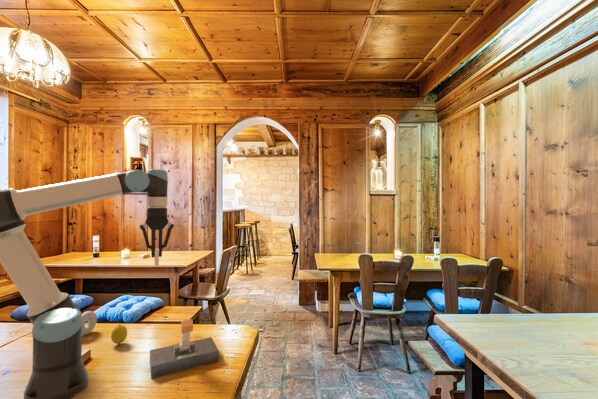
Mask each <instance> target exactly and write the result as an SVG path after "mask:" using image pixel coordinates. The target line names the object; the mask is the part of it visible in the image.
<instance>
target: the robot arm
mask: <svg viewBox="0 0 598 399" xmlns="http://www.w3.org/2000/svg"><path fill="white" fill-rule="evenodd" d="M168 178H169V177H168V172H167V171H166V170H164V169H157V168H156V169H154V168H151V169H148V170H147V173H146V172H145V171H144V170H141V169H131V170H129V171H121V172H118V171H117V172H114V173H111V174H106V175H101V176H94V177H89V178H87V177H86V178H84V179H76V180H71V181H70V180H69V181H67V182H65V181H64V182H60V183H55V184H54V183H53V184H48V185H43V186H37V187H31V188H26V189H21V190H19V189H15V188H13V187H10V188H4V189H0V264H1V266H2V268H3V269H4V271H5V272H6V273H7V275H8V277H9V278H10V279H11V281H12V283H13V284H14V286H15V287H16V289H17V290H18V292H19V294H20V295H21V297H22V298H23V300H24V301H25V303H26V305H27V306H28V308H29V309H28V310H27V312H26V316H27V318H28V319H29V321H30V323H31V324H32V330H31V331H32V332H31V333H32V368H31V369H32V371H31V375H30V378H29V380H28V382H27V385H26V387H25V390H24V392H23V399H70V398H72V397H74V396H76V395H77V394H79V393H81V392H82V391H83V390H84V389H85V388H86V386H87V385H88V382H89V378H88V377H89V375H88V371H87V369H86V366H85V364H84V362H83V359H82V344H83V343H82V342H83V340H82V339H83V336H82V323H83V318H82V314H83V313H82V312H81V309H80V307H79V306H78V305H77V303H75V302H74V301H73V299H72V297H71V296H70V294H68V293H67V292H62V291H60V289H59V288H58V286H57V284H56V282H55V281H54V279H53V278H52V276H51V274H50V272H49V271H48V269H47V268H46V266H45V264H44V263H43V261H42V259H41V258H40V255H39V254H38V252H37V251H36V249H35V248H34V246H33V245H32V242H31V241H30V240H29V238H28V236H27V235H26V233H25V231H24V230H25V227H26V226H27V223H26V221H25V219H26V217H28V216H31V215H36V214H40V213H44V212H49V211H53V210H58V209H64V208H68V207H72V206H77V205H82V204H85V203H86V204H87V203H91V202H94V201H100V200H103V199H108V198H115V197H118V196H123V195H128V194H132V193H144V194H145V193H146V195H147V197H146V206H147V207H148V208H146V219H145V222H144V223H142V224H139V228H140V230H141V231H142V234H143V237H144V242H145V245H146V248H147V249H150V250H151V253H150V254H151V258H154V262H153V264H154V267H155V266H156V267H157V266H159V265H160V258H162V256H163V249H164V248H167V246H168V243H169V239H170V236H171V232H172V229H173V228H174V227H175V225H174V223H171V222H170V221H169V219H168V208H167V207H168V183H169V179H168ZM166 226H167V230H166V234H165V238H164V241H163V230H164V229H165V228H166ZM147 227H148V228H149V230H151V244H150V241H149V237H148V233H147V230H146V229H147ZM156 231H158V246H157V247H158V248H156Z"/></svg>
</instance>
